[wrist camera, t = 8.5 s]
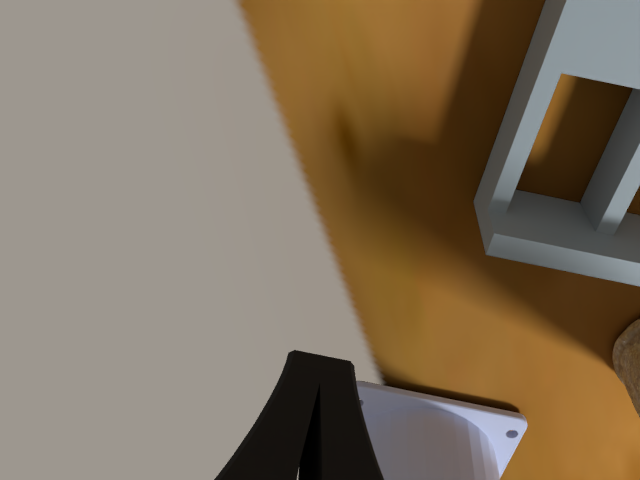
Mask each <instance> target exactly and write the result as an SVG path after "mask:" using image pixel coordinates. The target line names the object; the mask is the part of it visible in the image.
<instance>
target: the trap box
mask: <svg viewBox="0 0 640 480" xmlns="http://www.w3.org/2000/svg"><path fill="white" fill-rule="evenodd" d="M561 73H564V74H569V75H573V76H578V77H583V78H588V79H593V80H597V81H602V82H607V83H612V84H616V85H621V86H626V87H631V88H633V90H632V92H631V94H630V97H629V99H628V101H627V103H626V105H625V107H624V109H623V112H622V114H621V116H620V118H619V120H618V122H617V124H616V127H615V129H614V131H613V133H612V135H611V137H610V139H609V142H608V144H607V146H606V148H605V150H604V152H603V154H602V156H601V159H600V161H599V163H598V165H597V167H596V169H595V171H594V174H593V176H592V178H591V180H590V182H589V184H588V186H587V189H586V191H585V193H584V195H583V197H582V199H581V201H580V203H579V202H574V201H569V200H564V199H559V198H555V197H550V196H545V195H540V194H535V193H530V192H526V191H521V190H516V186H517V184H518V181H519V179H520V176H521V174H522V171H523V169H524V166H525V164H526V161H527V159H528V156H529V153H530V151H531V148H532V146H533V143H534V141H535V138H536V136H537V133H538V131H539V128H540V126H541V123H542V121H543V118H544V116H545V113H546V111H547V108H548V106H549V103H550V101H551V98H552V95H553V93H554V90H555V88H556V85H557V83H558V80H559V78H560V75H561ZM639 186H640V0H546V1H545V4H544V6H543V9H542V12H541V15H540V17H539V20H538V23H537V26H536V29H535V31H534V34H533V37H532V40H531V43H530V45H529V48H528V51H527V54H526V56H525V59H524V62H523V65H522V68H521V70H520V73H519V76H518V79H517V82H516V84H515V87H514V90H513V93H512V95H511V98H510V101H509V104H508V107H507V109H506V112H505V115H504V118H503V121H502V123H501V126H500V129H499V132H498V134H497V137H496V140H495V143H494V146H493V148H492V151H491V154H490V157H489V160H488V162H487V165H486V168H485V171H484V174H483V176H482V179H481V182H480V185H479V187H478V190H477V193H476V196H475V199H474V201H473V202H474V206H475V211H476V215H477V219H478V223H479V228H480V232H481V236H482V240H483V245H484V249H485V253H486V255H490V256H494V257H499V258H504V259H509V260H514V261H519V262H524V263H528V264H533V265H538V266H543V267H548V268H553V269H558V270H562V271H567V272H572V273H577V274H582V275H587V276H592V277H596V278H601V279H606V280H611V281H616V282H621V283H626V284H630V285H635V286H640V215H637V214H632V213H627V212H626V211H627V209H628V207H629V205H630V203H631V201H632V199H633V197H634V195H635V193H636V191H637V190H638V188H639Z"/></svg>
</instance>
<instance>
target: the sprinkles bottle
mask: <svg viewBox="0 0 640 480" xmlns="http://www.w3.org/2000/svg"><path fill="white" fill-rule="evenodd" d="M612 359H613V363H614V368H615V372H616V374H617V376H618V378H619V379H620V380H621V382H622V383H623V384H624V385H625V387H626V389H627V391H628V394H629V396H630V398H631V400H632V403H633V405H634V407H635V410H636V411H637V413H638V415H639V417H640V319H638V320H636V321H635V322H633V323H632V324H631V325H630V326H629V327H628V328H627V329H626V330H625V331H624V332H623V333H622V334H621V335H620V336H619V338H618V339H617V340H616V342H615V345H614V349H613V356H612Z"/></svg>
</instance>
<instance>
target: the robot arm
mask: <svg viewBox="0 0 640 480" xmlns="http://www.w3.org/2000/svg"><path fill="white" fill-rule="evenodd" d="M354 371H355V370H354V365H353V364H352V363H351V361H347V360H342V359H337V358H332V357H327V356H322V355H317V354H312V353H306V352H302V351H296V350H294V351H292V352H290V353H289V354H288V356H287V360H286V364H285V366H284V369H283V371H282V374H281V376H280V378H279V381H278V383H277V385H276V387H275V389H274V390H273V393H272V395H271V396H270V398H269V400H268V402H267V403H266V405H265V407H264V408H263V410H262V412H261V413H260V415H259V417H258V419H257V420H256V422H255V424H254V425H253V427H252V428H251V430H250V431H249V433H248V434H247V436H246V437H245V439H244V440H243V441H242V443H241V444H240V446H239V447H238V449H237V450H236V452H235V453H234V455H233V456H232V457H231V459H230V460H229V461H228V463H227V464H226V465H225V467H224V468H223V469H222V471H221V472H220V473H219V475H218V476H217V477H216V478H215V479H214V480H297V474H298V469H299V478H298V479H299V480H500V477H501V475H502V473H503V472H504V470H505V468H506V466H507V464H508V462H509V460H510V458H511V457H512V455H513V453H514V451H515V449H516V447H517V445H518V444H519V442H520V440H521V438H522V436H523V434H524V432H525V430H526V429H527V421H526V418H525V416H524V415H523V414H520V413H516V412H511V411H507V410H502V409H497V408H492V407H487V406H482V405H477V404H472V403H467V402H462V401H457V400H452V399H448V398H443V397H438V396H433V395H428V394H423V393H418V392H413V391H408V390H403V389H398V388H394V387H389V386H384V385H379V384H373V383H368V382H364V381H356V378H355V372H354ZM359 399H361V400H359ZM510 430H514V431H510Z"/></svg>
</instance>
